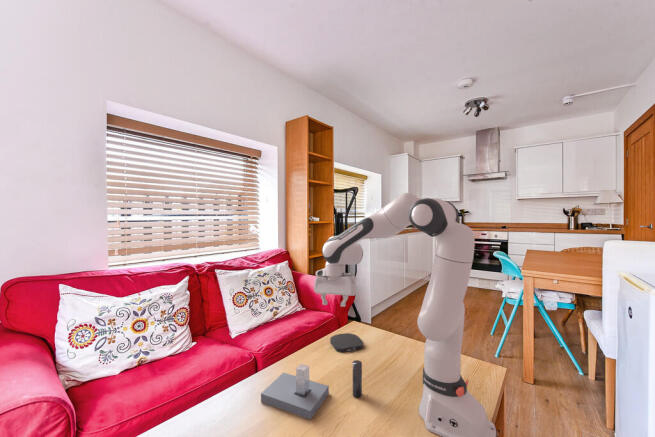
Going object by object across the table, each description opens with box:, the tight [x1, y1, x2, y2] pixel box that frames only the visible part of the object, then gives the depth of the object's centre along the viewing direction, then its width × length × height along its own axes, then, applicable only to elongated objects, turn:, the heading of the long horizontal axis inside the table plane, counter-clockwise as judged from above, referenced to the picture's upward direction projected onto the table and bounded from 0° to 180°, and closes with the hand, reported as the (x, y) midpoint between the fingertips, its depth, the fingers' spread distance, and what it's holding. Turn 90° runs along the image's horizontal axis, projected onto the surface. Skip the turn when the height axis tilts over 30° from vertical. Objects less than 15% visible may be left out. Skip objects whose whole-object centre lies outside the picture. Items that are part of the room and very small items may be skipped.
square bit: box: [295, 363, 310, 398], centre depth 98 cm, size 3×3×12 cm
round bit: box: [352, 359, 363, 399], centre depth 101 cm, size 3×3×12 cm
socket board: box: [260, 372, 330, 421], centre depth 99 cm, size 20×14×3 cm
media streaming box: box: [329, 332, 364, 354], centre depth 139 cm, size 15×15×3 cm
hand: (333, 305), depth 117 cm, fingers open, 8 cm apart
